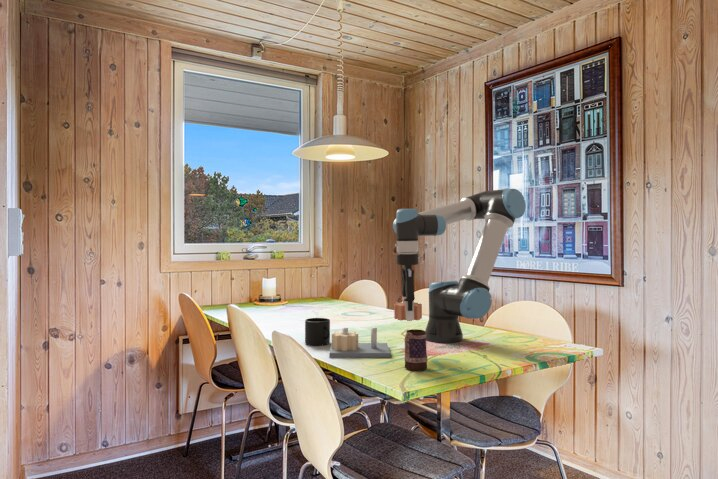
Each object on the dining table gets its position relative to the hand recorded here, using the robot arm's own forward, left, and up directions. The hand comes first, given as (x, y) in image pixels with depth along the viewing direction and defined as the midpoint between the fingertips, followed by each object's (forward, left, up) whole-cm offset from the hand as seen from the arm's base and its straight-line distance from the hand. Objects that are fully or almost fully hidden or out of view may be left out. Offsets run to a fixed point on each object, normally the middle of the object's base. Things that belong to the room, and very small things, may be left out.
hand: (408, 317), depth 174 cm
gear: (0, 0, 0) cm, 0 cm away
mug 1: (+32, -17, -13) cm, 38 cm away
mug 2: (+1, +20, -13) cm, 24 cm away
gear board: (+17, -3, -13) cm, 21 cm away
